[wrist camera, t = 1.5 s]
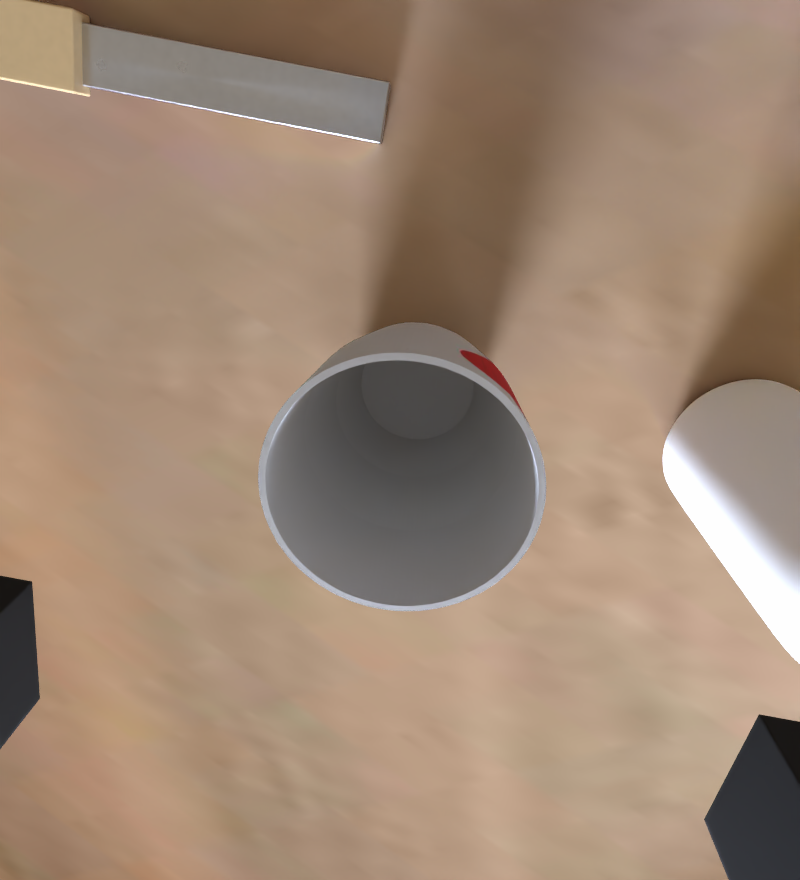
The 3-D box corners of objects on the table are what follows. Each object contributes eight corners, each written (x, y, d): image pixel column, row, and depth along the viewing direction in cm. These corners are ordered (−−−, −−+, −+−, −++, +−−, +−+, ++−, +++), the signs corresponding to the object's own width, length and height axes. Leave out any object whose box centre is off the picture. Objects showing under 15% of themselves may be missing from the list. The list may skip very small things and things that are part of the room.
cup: (523, 457, 28) (560, 594, 19) (346, 484, 29) (298, 625, 20) (497, 272, 25) (526, 327, 16) (301, 310, 26) (221, 381, 17)
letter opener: (392, 74, 23) (389, 69, 22) (380, 153, 24) (377, 151, 23) (-103, -22, 23) (-132, -32, 21) (-94, 61, 24) (-120, 55, 22)
